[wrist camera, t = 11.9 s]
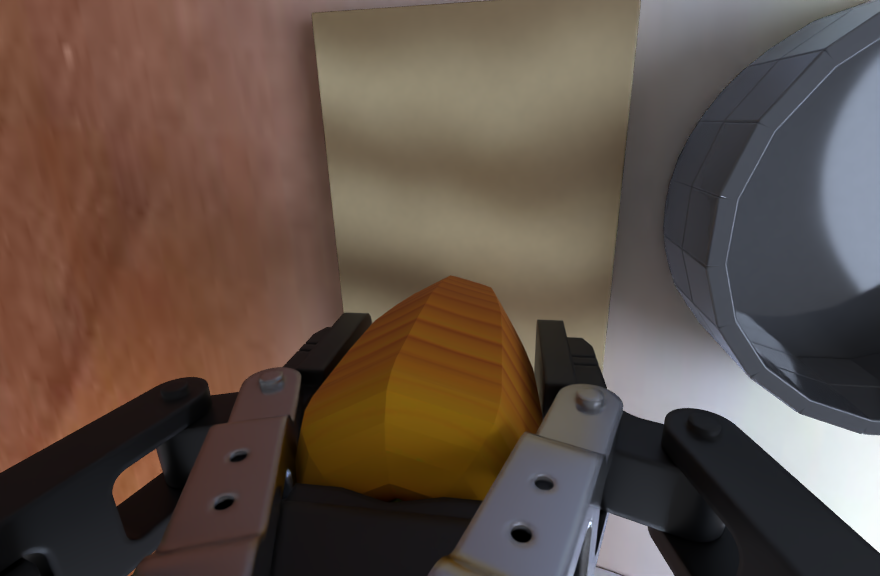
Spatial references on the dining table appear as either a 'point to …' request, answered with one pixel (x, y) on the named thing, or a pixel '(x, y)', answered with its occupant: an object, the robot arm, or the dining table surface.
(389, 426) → the carrot
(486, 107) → the board
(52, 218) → the dining table surface
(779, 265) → the pan
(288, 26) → the dining table surface
